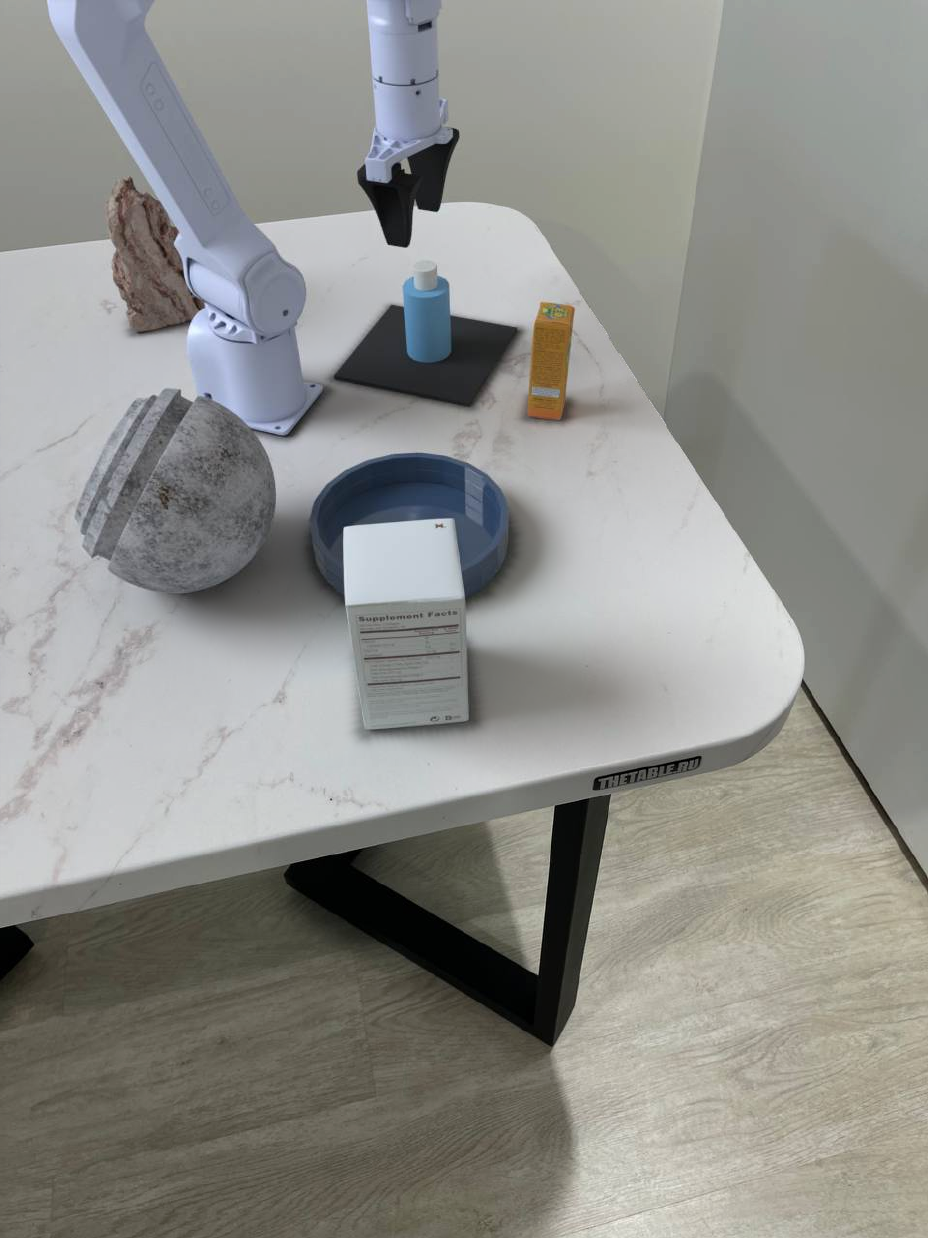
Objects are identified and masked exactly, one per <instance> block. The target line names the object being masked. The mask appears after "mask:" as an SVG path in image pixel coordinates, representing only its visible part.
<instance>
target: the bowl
mask: <svg viewBox="0 0 928 1238" xmlns="http://www.w3.org/2000/svg"><path fill="white" fill-rule="evenodd" d="M509 511H510V507H509V506H508V502H507V500H506V497H505V496H504V492H503V490H502V489H501V487H499V485H498V484H497V483H496V482H495V481H494V480H493V479H492V477H491V476H490V475H489V474H487V473H486V472H484V471H482V470H481V469H479V468H478V467H476V466H474V465H473V464H471V463H469V462H466V461H463V460H460V459H457V458H454V457H451V456H448V455H444V454H435V453H428V452H418V451H417V452H402V453H390V454H387V455H383V456H379V457H374V458H371V459H370V458H369V459H366V460H364V461H362V462H360V463H358V464H355V465H353V466H351V467H348V468H346V469H345V470H343V471H342V472H341V473H339V474H337V476H335V477H334V478H333V479H331V480H330V481H329V482H327V483H326V484H325V485H324V487H323V489H322V490H321V491H320V492H319V494H318V495H317V497H316V498H315V499H314V500H313V504H312V508H311V511H310V516H309V519H308V523H309V529H310V535H311V541H312V548H313V553H314V558H315V563H316V565H317V567H318V569H319V572H320V573H321V575H322V576H323V578H324V580H326V582H327V583H328V584H329V585H330V586H331V587H332V588H334V589H335V590H336V591H337V592H338V593H339V594H341V595H343V596H344V597H345V590H344V555H343V532H344V527H348V526H355V525H366V524H380V523H392V522H404V521H416V520H429V519H449V518H453V519H454V520H455V529H456V536H457V544H458V551H459V556H460V565H461V573H462V580H463V587H464V594H465V599H466V598H468V597H470V596H472V595H474V594H475V593H476V592H478V591H479V590H481V589H482V588H483V587H485V586H486V585H487V584H488V583H489V582H490V581H491V580H493V578H494V577H495V576H496V575H497V573H498V572H499V570H500V569H501V567H502V565H503V564H504V561H505V559H506V555H507V552H508V547H509V546H508V545H509V544H508V543H509V518H510V517H509V515H510V514H509V513H510V512H509Z"/></svg>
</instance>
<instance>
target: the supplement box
mask: <svg viewBox="0 0 928 1238" xmlns="http://www.w3.org/2000/svg"><path fill="white" fill-rule="evenodd" d="M575 310H576V309H575V306H573V305H567V304H562V303H555V302H547V301H546V302H545V301H540V303H539V308H538V311H537V315H536V317H535V319H534V322H533V331H532V342H531V343H532V344H531V354H530V366H529V381H528V383H529V384H528V395H527V411H526V412H527V414H526V415H527V416H528V417H530V418H536V419H545V420H553V421H554V420H556V421H560V420H561V419H562V416H563V412H564V408H565V403H566V397H567V396H566V394H567V387H568V385H567V384H568V377H569V376H568V375H569V366H570V357H571V347H572V339H573V329H574V319H575V312H576V311H575Z"/></svg>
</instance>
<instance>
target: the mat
mask: <svg viewBox="0 0 928 1238" xmlns="http://www.w3.org/2000/svg"><path fill="white" fill-rule="evenodd" d="M450 323H451V353H450V355H449V356H448V357H447V358H445V359H443V360H441V361H438V362H433V363H423V362H418V361H415V360H413V359H412V358H410V357H409V355H408V353H407V344H406V329H405V314H404V306H401V305H396V304H391V305H390V306H389V307H388V308H387V309H386V311H384V313H383V314H382V316H381V317H380V318H379V319H378V321H377V322H376V323H375V324H374V326H373V327H372V328H371V329H370V331H368V333H367V334H366V335H365V337H364V338H363V339H362V340H361V342H359V344H358V345H357V346H356V348H355V349H354V350H353V351H352V353H351V354H350V355H349V356H348V357H347V358H346V360H345V361H344V363H343V364H342V365H341V366H340V368H339V369H338V370H336V372H335V374H334V375H333V378H334V379H333V380H338V381H342V382H347V383H353V384H356V385H361V386H367V387H372V388H376V389H382V390H386V391H391V392H396V393H402V394H405V395H411V396H415V397H421V398H425V399H431V400H435V401H440V402H445V403H450V404H454V405H460V406H464V407H471V405H472V404H473V402H474V401H475V399H476V397H477V396H478V394H479V393H480V391H481V389H482V388H483V386H484V384H485V383H486V381H487V380H488V378H489V377H490V375H491V373H492V372H493V370H494V369H495V367H496V365H497V364H498V362H499V361H500V359H501V357H502V356H503V355H504V353H505V351H506V349H507V348H508V346H509V345H510V343H511V342H512V340H513V339H514V337H515V335H516V333H517V332H518V327H516V326H511V325H507V324H506V325H505V324H502V323H501V324H500V323H495V322H489V321H483V320H479V319H473V318H466V317H462V316H456V315H451V314H450Z"/></svg>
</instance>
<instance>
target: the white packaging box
mask: <svg viewBox="0 0 928 1238" xmlns="http://www.w3.org/2000/svg"><path fill="white" fill-rule="evenodd" d="M343 555H344V590H345V596H344V603H345V604H344V605H345V612H346V617H347V618H346V619H347V623H348V624H347V625H348V630H349V637H350V645H351V651H352V658H353V665H354V671H355V678H356V683H357V684H356V685H357V690H358V696H359V702H360V707H361V715H362V720H363V725H364V729H365V730H384V729H385V730H386V729H395V728H396V729H397V728H407V727H418V726H419V727H421V726H432V725H433V726H434V725H442V724H453V723H464V722H468V721H469V719H470V718H469V716H470V715H469V712H470V711H469V691H468V690H469V687H468V645H467V644H468V643H467V640H468V639H467V613H466V612H467V610H466V609H467V607H466V598H465V594H464V587H463V580H462V573H461V565H460V556H459V551H458V544H457V536H456V529H455V520H454V519H453V518H449V519H429V520H416V521H404V522H392V523H380V524H366V525H355V526H348V527H344V532H343Z"/></svg>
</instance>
